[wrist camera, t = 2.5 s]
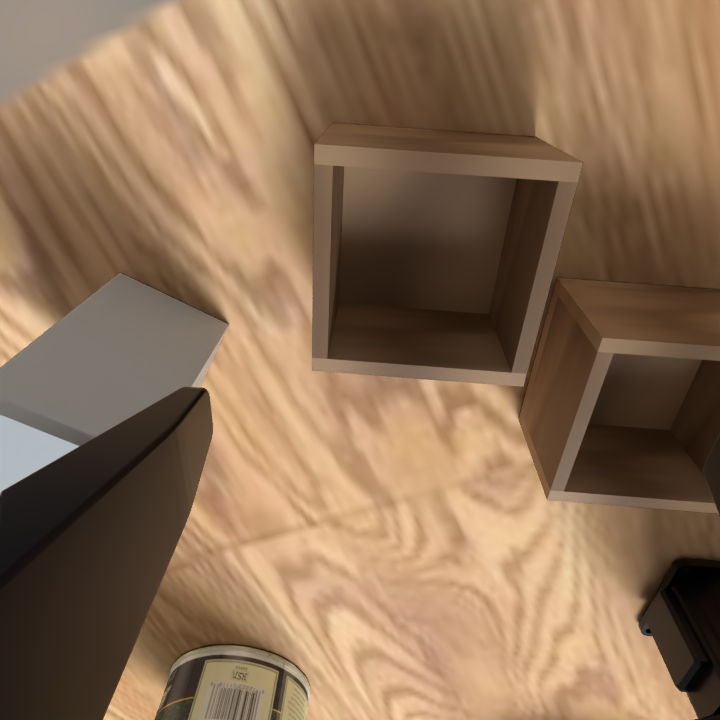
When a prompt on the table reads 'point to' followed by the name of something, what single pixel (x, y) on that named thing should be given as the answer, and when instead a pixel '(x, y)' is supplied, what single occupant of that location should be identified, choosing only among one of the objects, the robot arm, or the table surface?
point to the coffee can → (234, 686)
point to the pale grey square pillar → (99, 371)
